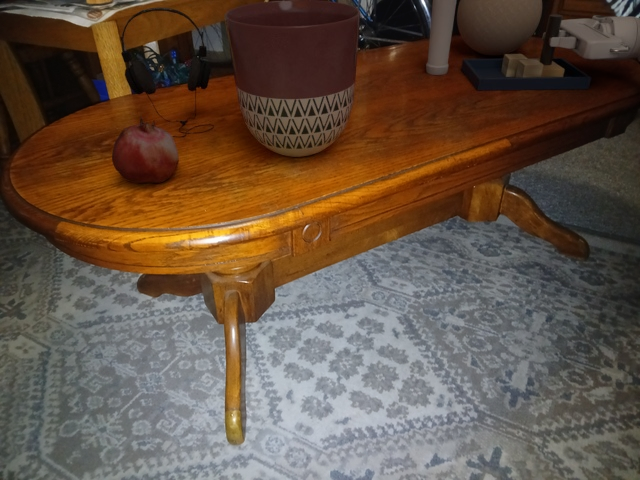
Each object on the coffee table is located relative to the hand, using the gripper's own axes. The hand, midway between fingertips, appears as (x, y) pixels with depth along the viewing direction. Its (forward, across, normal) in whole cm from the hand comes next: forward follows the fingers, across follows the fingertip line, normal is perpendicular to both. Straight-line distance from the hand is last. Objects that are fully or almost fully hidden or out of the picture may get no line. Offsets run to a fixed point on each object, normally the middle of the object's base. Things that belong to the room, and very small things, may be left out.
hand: (546, 39), depth 111 cm
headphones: (+75, -28, -9) cm, 81 cm away
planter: (+52, -39, -9) cm, 65 cm away
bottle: (+22, +5, -9) cm, 24 cm away
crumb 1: (+5, +2, -8) cm, 10 cm away
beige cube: (+3, -3, -8) cm, 9 cm away
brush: (-1, 0, -8) cm, 8 cm away
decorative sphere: (+5, +21, -9) cm, 23 cm away
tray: (+4, 0, -8) cm, 9 cm away
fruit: (+73, -49, -9) cm, 89 cm away
